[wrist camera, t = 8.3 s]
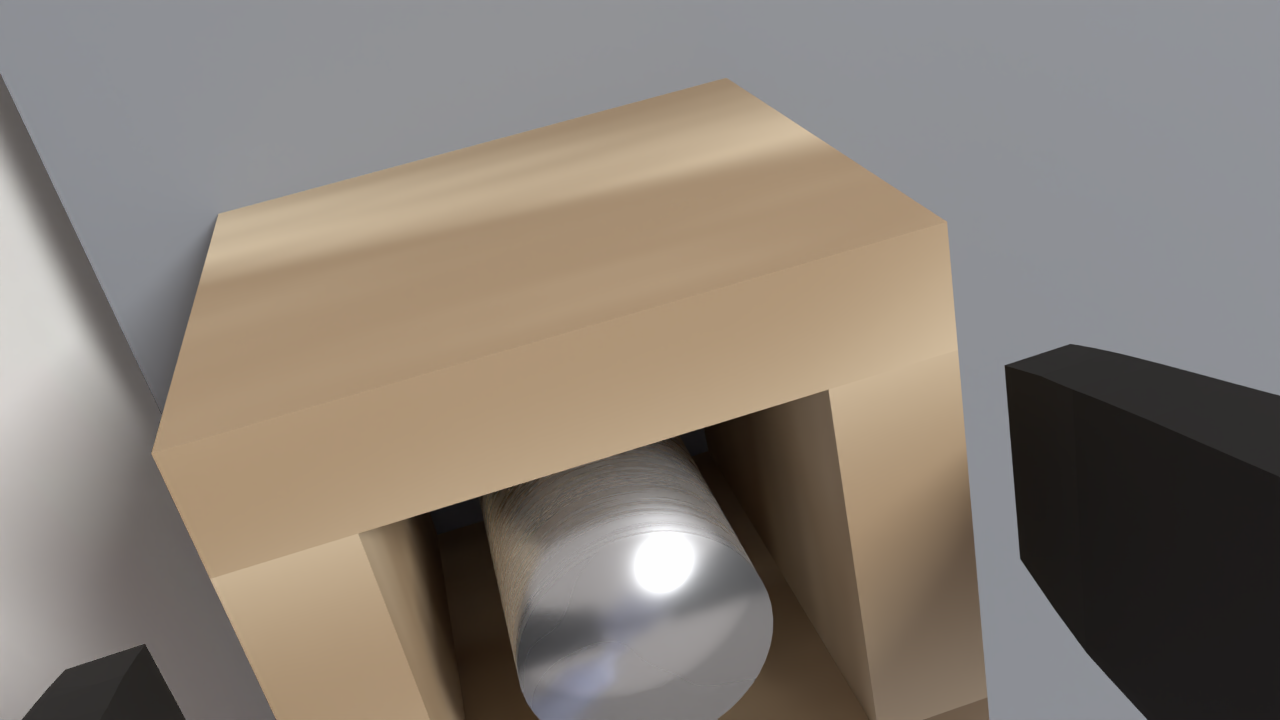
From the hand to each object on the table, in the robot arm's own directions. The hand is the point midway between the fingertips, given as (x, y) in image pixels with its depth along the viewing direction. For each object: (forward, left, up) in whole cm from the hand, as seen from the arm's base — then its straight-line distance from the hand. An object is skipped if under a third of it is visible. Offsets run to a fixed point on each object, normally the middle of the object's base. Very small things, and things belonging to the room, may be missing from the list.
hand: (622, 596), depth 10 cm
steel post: (0, 0, -4) cm, 4 cm away
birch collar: (0, 0, -4) cm, 4 cm away
